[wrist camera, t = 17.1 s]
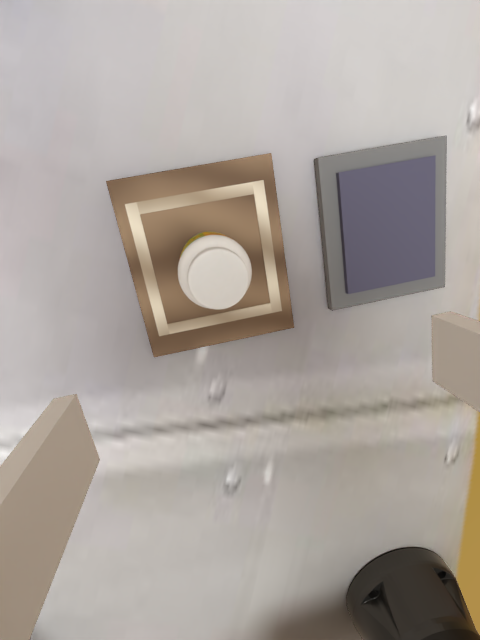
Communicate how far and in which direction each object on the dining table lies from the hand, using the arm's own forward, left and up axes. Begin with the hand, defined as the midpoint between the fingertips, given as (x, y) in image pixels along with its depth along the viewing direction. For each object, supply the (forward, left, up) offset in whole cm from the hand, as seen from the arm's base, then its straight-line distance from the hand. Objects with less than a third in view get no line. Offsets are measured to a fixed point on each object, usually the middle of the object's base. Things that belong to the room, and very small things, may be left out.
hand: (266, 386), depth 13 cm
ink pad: (+2, -16, -21) cm, 27 cm away
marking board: (+2, +1, -21) cm, 21 cm away
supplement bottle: (+2, +1, -21) cm, 21 cm away
